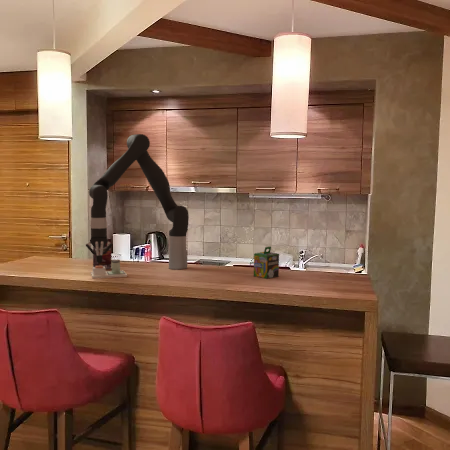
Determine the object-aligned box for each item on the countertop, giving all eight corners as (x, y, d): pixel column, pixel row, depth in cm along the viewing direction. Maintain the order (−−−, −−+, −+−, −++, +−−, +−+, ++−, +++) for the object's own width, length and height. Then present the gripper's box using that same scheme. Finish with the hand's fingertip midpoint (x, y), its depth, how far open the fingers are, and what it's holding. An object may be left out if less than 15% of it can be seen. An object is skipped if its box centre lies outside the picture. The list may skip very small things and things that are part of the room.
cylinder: (118, 271, 238) (118, 259, 237) (121, 272, 234) (121, 260, 234) (110, 272, 235) (110, 260, 235) (113, 273, 232) (113, 261, 231)
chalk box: (265, 274, 244) (265, 244, 242) (279, 276, 237) (280, 246, 236) (252, 276, 237) (253, 246, 236) (267, 279, 231) (267, 248, 229)
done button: (102, 270, 234) (102, 265, 234) (102, 271, 231) (102, 266, 231) (95, 270, 233) (95, 265, 233) (95, 271, 230) (95, 266, 230)
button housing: (104, 272, 236) (104, 266, 236) (105, 274, 231) (105, 268, 230) (92, 273, 234) (92, 266, 234) (93, 275, 229) (93, 268, 228)
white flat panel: (123, 272, 242) (123, 270, 242) (127, 276, 231) (127, 274, 231) (90, 273, 237) (90, 271, 237) (92, 278, 226) (92, 276, 226)
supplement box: (98, 270, 247) (98, 239, 245) (92, 269, 249) (92, 238, 248) (112, 268, 253) (112, 238, 252) (106, 267, 256) (105, 237, 255)
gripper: (84, 228, 225) (85, 264, 226) (113, 227, 229) (114, 263, 231) (83, 226, 232) (84, 262, 233) (111, 225, 236) (112, 261, 238)
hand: (99, 262), depth 232 cm, fingers closed
